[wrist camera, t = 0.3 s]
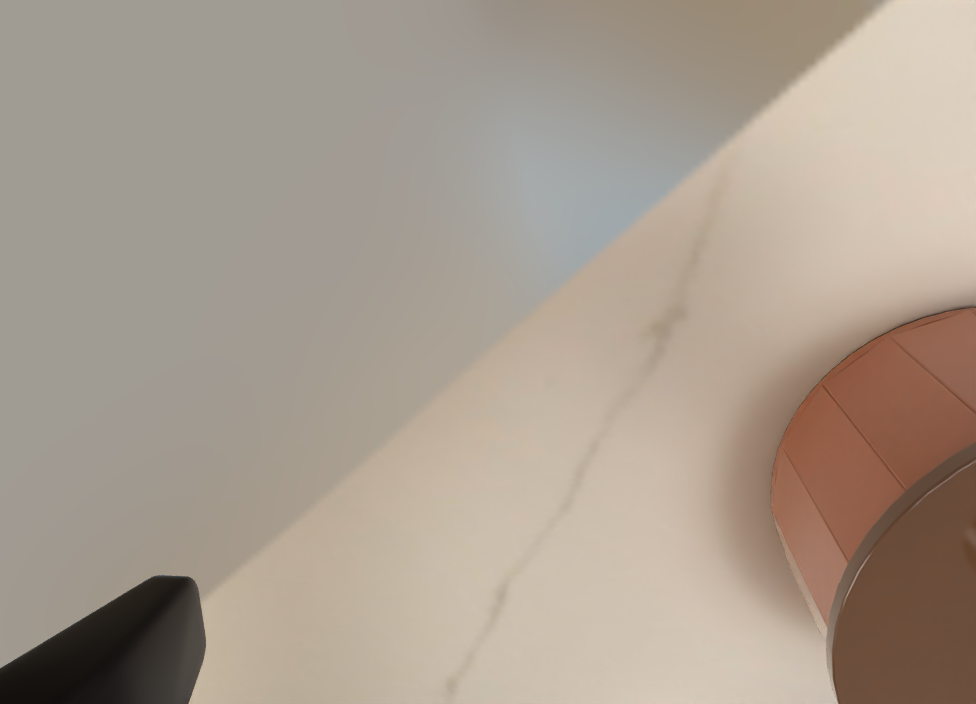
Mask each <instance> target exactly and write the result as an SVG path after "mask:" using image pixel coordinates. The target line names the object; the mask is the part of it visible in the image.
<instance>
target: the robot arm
mask: <svg viewBox="0 0 976 704" xmlns="http://www.w3.org/2000/svg"><path fill="white" fill-rule="evenodd" d="M205 648H206V637H205V630H204V623H203V616H202V610H201V603H200V597H199V591H198V587H197V584H196V582H195V581H194V580H193V579H192V578H190V577H185V576H165V575H158V576H154V577H151V578H150V579H148V580H146V581H144V582H143V583H141V584H139V585H138V586H136V587H134V588H133V589H131V590H129V591H128V592H126V593H124V594H123V595H121V596H119V597H118V598H116V599H115V600H113V601H111V602H109V603H108V604H107V605H105V606H103V607H101V608H100V609H98V610H96V611H95V612H93V613H91V614H90V615H88V616H86V617H85V618H83V619H81V620H80V621H78V622H76V623H75V624H73V625H71V626H70V627H68V628H67V629H65V630H63V631H62V632H60V633H58V634H56V635H55V636H53V637H52V638H50V639H48V640H47V641H45V642H43V643H42V644H40V645H38V646H37V647H35V648H33V649H32V650H30V651H28V652H27V653H25V654H23V655H22V656H20V657H18V658H17V659H15V660H13V661H12V662H10V663H8V664H7V665H5V666H4V667H2V668H0V704H188V703H189V700H190V698H191V695H192V692H193V689H194V686H195V683H196V680H197V677H198V675H199V672H200V669H201V666H202V663H203V660H204V655H205Z"/></svg>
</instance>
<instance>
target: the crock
mask: <svg viewBox="0 0 976 704" xmlns="http://www.w3.org/2000/svg"><path fill="white" fill-rule="evenodd" d="M974 442H976V307H974V308H967V309H960V310H954V311H948V312H944V313H940V314H937V315H933V316H929V317H925V318H922V319H919V320H916V321H914V322H911V323H909V324H906V325H903V326H901V327H898V328H896V329H894V330H892V331H890V332H888V333H886V334H884V335H882V336H880V337H878V338H876V339H874V340H872V341H871V342H869V343H868V344H866V345H865V346H863V347H862V348H860V349H859V350H857V351H856V352H854V353H853V354H851V355H850V356H848V357H847V358H846V359H845V360H843V361H842V362H841V363H840V364H839V365H837V366H836V367H835V368H834V369H833V370H831V371H830V372H829V373H828V374H827V375H826V376H825V377H824V378H823V379H822V380H821V381H820V383H819V384H818V385H817V386H816V387H815V388H814V389H813V390H812V391H811V392H810V394H809V395H808V396H807V398H806V399H805V400H804V402H803V403H802V404H801V406H800V407H799V408H798V410H797V412H796V413H795V415H794V417H793V419H792V420H791V422H790V424H789V426H788V427H787V429H786V431H785V434H784V436H783V439H782V441H781V444H780V446H779V449H778V452H777V456H776V460H775V464H774V468H773V473H772V484H771V502H772V507H771V508H772V514H773V517H774V521H775V526H776V530H777V532H778V535H779V537H780V540H781V542H782V545H783V548H784V551H785V555H786V558H787V561H788V564H789V566H790V568H791V570H792V573H793V575H794V577H795V579H796V581H797V583H798V586H799V588H800V590H801V592H802V594H803V596H804V599H805V601H806V603H807V605H808V607H809V610H810V612H811V614H812V616H813V618H814V620H815V623H816V625H817V627H818V629H819V631H820V633H821V636H822V638H823V640H824V642H825V644H826V637H827V629H828V621H829V614H830V610H831V606H832V603H833V600H834V597H835V593H836V590H837V587H838V584H839V582H840V580H841V578H842V576H843V574H844V571H845V569H846V567H847V565H848V563H849V561H850V559H851V557H852V556H853V554H854V553H855V551H856V549H857V548H858V546H859V545H860V543H861V542H862V540H863V539H864V537H865V536H866V534H867V533H868V531H869V530H870V529H871V528H872V527H873V525H874V524H875V523H876V522H877V521H878V520H879V518H880V517H881V516H882V515H883V514H884V512H885V511H886V510H887V509H888V508H889V507H890V506H891V505H892V504H893V503H894V502H895V501H896V500H897V499H898V498H899V497H900V496H901V495H902V494H903V493H905V492H906V491H907V490H908V489H909V488H910V487H911V486H912V485H913V484H914V483H915V482H916V481H918V480H919V479H920V478H922V477H923V476H924V475H926V474H927V473H928V472H930V471H931V470H932V469H934V468H935V467H937V466H938V465H939V464H941V463H942V462H943V461H945V460H946V459H947V458H949V457H951V456H952V455H954V454H956V453H957V452H959V451H961V450H963V449H964V448H966V447H968V446H969V445H971V444H973V443H974Z"/></svg>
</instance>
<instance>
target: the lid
mask: <svg viewBox="0 0 976 704" xmlns="http://www.w3.org/2000/svg"><path fill="white" fill-rule="evenodd" d="M826 652H827V668H828V672H829V677H830V681H831V686H832V690H833V692H834V695H835V697H836V700H837V702H838V704H976V442H974V443H973V444H971V445H969V446H968V447H966V448H964V449H963V450H961V451H959V452H957V453H956V454H954V455H952V456H951V457H949V458H947V459H946V460H945V461H943V462H942V463H941V464H939V465H938V466H937V467H935V468H934V469H932V470H931V471H930V472H928V473H927V474H926V475H924V476H923V477H922V478H920V479H919V480H918V481H916V482H915V483H914V484H913V485H912V486H911V487H910V488H909V489H908V490H907V491H906V492H905V493H903V494H902V495H901V496H900V497H899V498H898V499H897V500H896V501H895V502H894V503H893V504H892V505H891V506H890V507H889V508H888V509H887V510H886V511H885V512H884V514H883V515H882V516H881V517H880V518H879V520H878V521H877V522H876V523H875V524H874V525H873V527H872V528H871V529H870V530H869V531H868V533H867V534H866V536H865V537H864V539H863V540H862V542H861V543H860V545H859V546H858V548H857V549H856V551H855V553H854V554H853V556H852V557H851V559H850V561H849V563H848V565H847V567H846V569H845V571H844V574H843V576H842V578H841V580H840V582H839V584H838V587H837V590H836V593H835V597H834V600H833V603H832V606H831V610H830V614H829V621H828V629H827V637H826Z"/></svg>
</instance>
